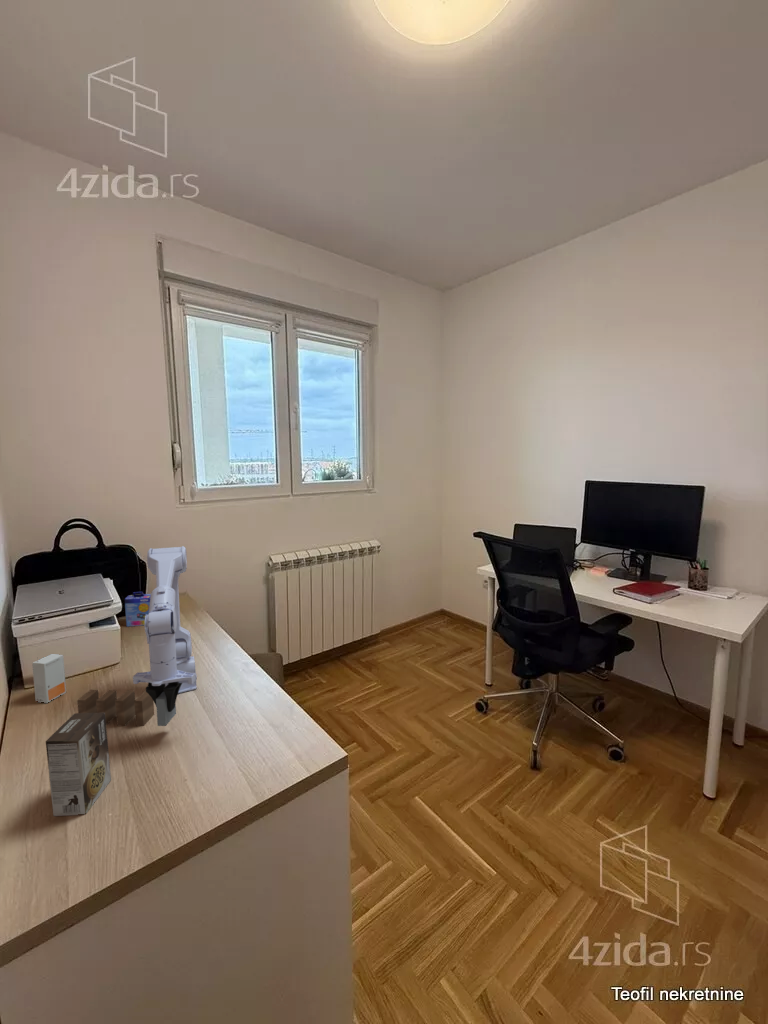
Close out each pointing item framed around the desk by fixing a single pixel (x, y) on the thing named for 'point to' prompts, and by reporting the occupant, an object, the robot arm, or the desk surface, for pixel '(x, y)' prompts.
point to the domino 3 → (125, 707)
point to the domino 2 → (107, 705)
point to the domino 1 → (88, 702)
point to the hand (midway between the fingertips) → (166, 709)
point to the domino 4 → (143, 709)
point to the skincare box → (49, 678)
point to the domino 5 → (163, 710)
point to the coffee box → (78, 763)
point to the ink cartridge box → (137, 608)
